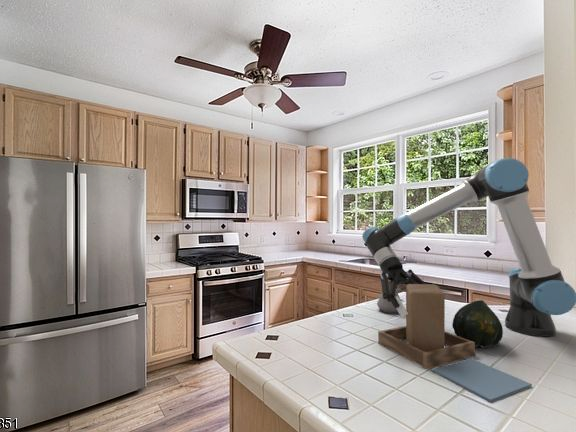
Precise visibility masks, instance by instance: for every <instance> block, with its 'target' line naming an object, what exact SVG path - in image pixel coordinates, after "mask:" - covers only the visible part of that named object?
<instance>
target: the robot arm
mask: <svg viewBox="0 0 576 432" xmlns="http://www.w3.org/2000/svg"><path fill="white" fill-rule="evenodd" d="M529 177H530V176H529V170H528V168H527V166H526V165H525V164H524V163H523V162H522V161H520V160H519V159H515V158H510V157H504V158H500V159H496V160H494V161H492V162H490V163H489V164H488V165H487V164H486V165H484V166H483V167H481V168H480V169H479V170H478V171H476V172H475V173H473V174H472V175H471V176H469V177H468V178H466V179H464V180H462V182H461V184H459V185H458V186H456V187H454V188H452V189H450V190H449V191H446V192H444V193H442V194H440V195H438V196H436V197H435V198H433V199H431V200H429V201H427V202H425V203H423V204H421V205H419V206H418V207H415V208H413V209H411V210H409V211H408V212H406V213H402V214H401V215H398V216H397V217H395V218H393V219H392V220H390V221H389V222H388V223H387V224H385V225H384V226H382V227H379V228H378V227H377V226H371V227H368V228H366V229H365V230H364V231H363V233H362V240H363V242H364V243H365V246H366V247H367V249H368V250H369V252H370V254H371V255H372V257H373V258H374V260H375V262H376V263H377V265H378V266H379V268H380V270H381V273H380V275H379V276H378V278H379V279H380V282H381V284H380V285H381V293H382V294H383V299H387V301H388V302H390V301H391V303H392V304H393V306H394V307H395V308H396V309H397V311H398V312H397V313H398V314H399V315H400V317H401V319H406V316H407V315H408V313H407V311H406V307H405V306H404V304H403V302H402V300H401V298H400V299H399V298H398V296H396V297H395V292H396V289H397V286H399V285H405V286H406V285H407V284H427V283H426V282H425V281H424V280H423V279H422V278H420V277H419V276H418V275H417V274H415V272H414V271H413V270H412V269H411V268H410V269H408V271H405V270H404V265H403V263H402V262H401V260H400V258H398V256H397V254H396V252H395V251H394V250H393V249H392V247H391V246H392V245H394V244H395V243H396V242H399V241H400V240H401V239H403V238H404V237H407V236H408V235H410V234H412V233H413V232H414V231H416V229H417V228H420V227H422V226H423V225H426V224H427V223H429V222H433V220H436V219H439V218H440V217H441V216H444V215H446V214H448V213H450V212H452V211H454V210H456V209H458V208H460V207H462V206H464V205H466V204H468V203H470V202H478V201H480V200H483V199H484V198H488V199H489V202H490V203H491V204H493V205H496V206H497V209H498V211H499V214H500V216H501V220H502V222H503V224H504V227H505V229H506V233H507V235H508V238H509V240H510V243H511V246H512V249H513V251H514V254H515V256H516V260H517V262H518V264H519V267H520V268H510V270H509V275H508V278H509V309H508V312H507V314H506V316H505V319H504V321H505V322H504V325H505V327H506V328H507V329H509V330H511V331H514V332H517V333H520V334H524V335H530V336H535V337H537V336H538V337H552V336H555V335H556V334H557V333H556V332H557V328H556V326H555V325H556V324H555V322H554V320H553V318H552V316H559V315H560V316H561V315H565V314H566V313H567V314H568V313H569V312H570V311H572V310H573V308H574V307H575V305H576V291H575V289H574V287H572V286H571V285H570V284H569V283H568V282H566V281H565V279H564V276H563V274H562V271H561V269H560V268H558V267H557V266H554V264H552V261H551V259H550V256H549V253H548V250H547V248H546V245H545V243H544V241H543V237H542V235H541V232H540V230H539V228H538V225H537V222H536V220H535V216H534V214H533V212H532V208H531V207H530V203H529V201H528V199H527V197H528V195H529V194H530V193H531V191H530V188H529V185H528V184H527V182H528V180H529ZM388 282H390V289H389V285H388ZM400 300H401V301H400ZM401 302H402V303H401Z"/></svg>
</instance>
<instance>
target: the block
mask: <svg viewBox="0 0 576 432" xmlns="http://www.w3.org/2000/svg"><path fill="white" fill-rule="evenodd" d="M405 286H406V289H405V309H406V311H407V313H408V315H407V316H406V317H405V319H406V321H405V326H406V339H405V340H406V341H407V342H406V343H408V344H410V345H412V346H414V347H416V348H418V349H420V350H422V351H425V352H429V351H433V350H437V349H441V348H445V346H446V345H445V331H446V330H445V324H446V322H445V319H446V318H445V317H446V316H445V311H446V309H445V306H446V304H445V303H446V302H445V300H446V299H445V298H446V297H445V293H444V292H443V291H442V290H441V288H440V287H439V286H438V285H437V284H435V283H434V284H429V283H426V284H407V285H405Z"/></svg>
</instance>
